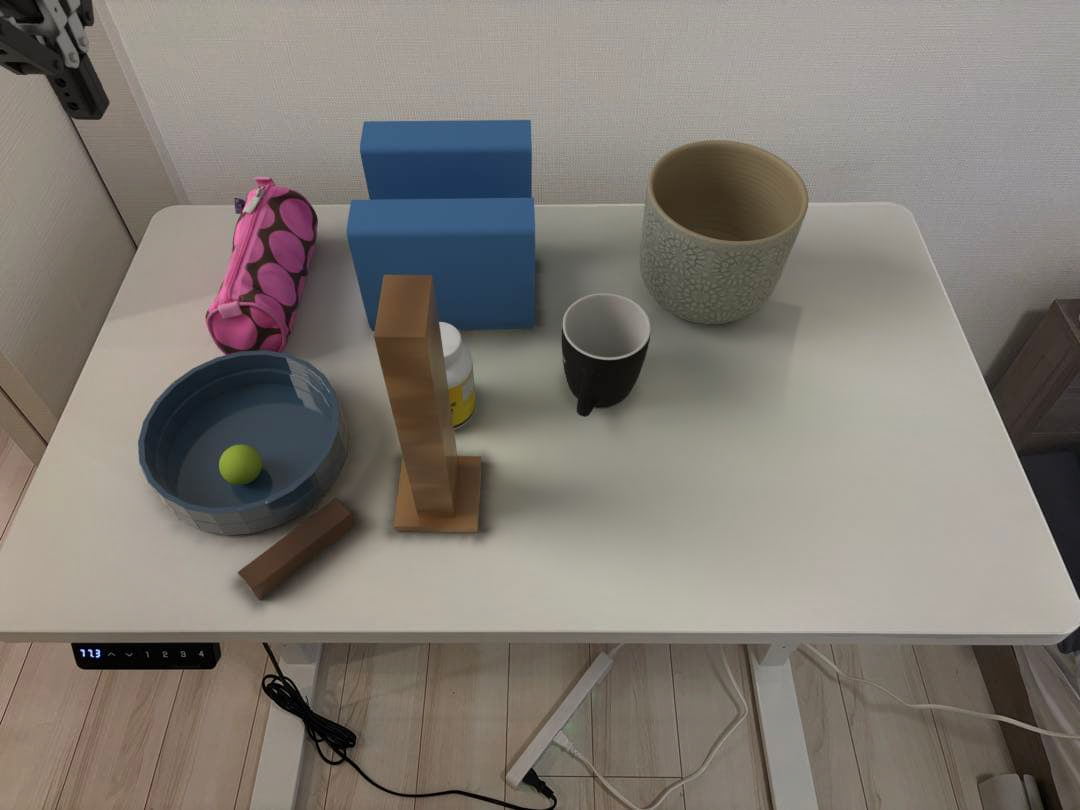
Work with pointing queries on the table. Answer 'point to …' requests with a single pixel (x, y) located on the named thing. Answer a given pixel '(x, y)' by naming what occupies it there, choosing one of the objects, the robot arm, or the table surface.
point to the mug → (603, 349)
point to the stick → (296, 548)
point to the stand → (423, 412)
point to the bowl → (244, 441)
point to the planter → (718, 228)
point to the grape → (240, 464)
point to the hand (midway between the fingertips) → (91, 113)
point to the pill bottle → (458, 375)
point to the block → (449, 218)
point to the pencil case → (264, 270)
